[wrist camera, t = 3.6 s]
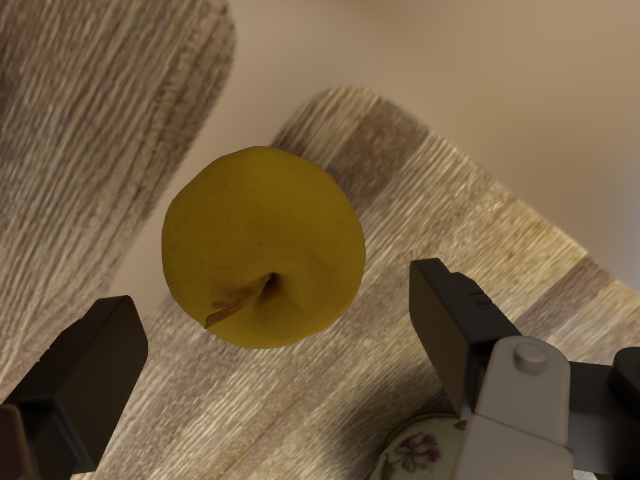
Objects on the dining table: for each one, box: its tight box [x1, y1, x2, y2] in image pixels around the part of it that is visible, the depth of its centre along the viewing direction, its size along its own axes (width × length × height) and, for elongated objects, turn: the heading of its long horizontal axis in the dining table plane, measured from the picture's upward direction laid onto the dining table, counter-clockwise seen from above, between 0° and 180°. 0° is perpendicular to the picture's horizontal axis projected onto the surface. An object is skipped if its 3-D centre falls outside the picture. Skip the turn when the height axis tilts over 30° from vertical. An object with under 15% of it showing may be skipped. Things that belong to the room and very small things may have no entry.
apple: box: [162, 146, 366, 349], centre depth 13 cm, size 6×6×8 cm
